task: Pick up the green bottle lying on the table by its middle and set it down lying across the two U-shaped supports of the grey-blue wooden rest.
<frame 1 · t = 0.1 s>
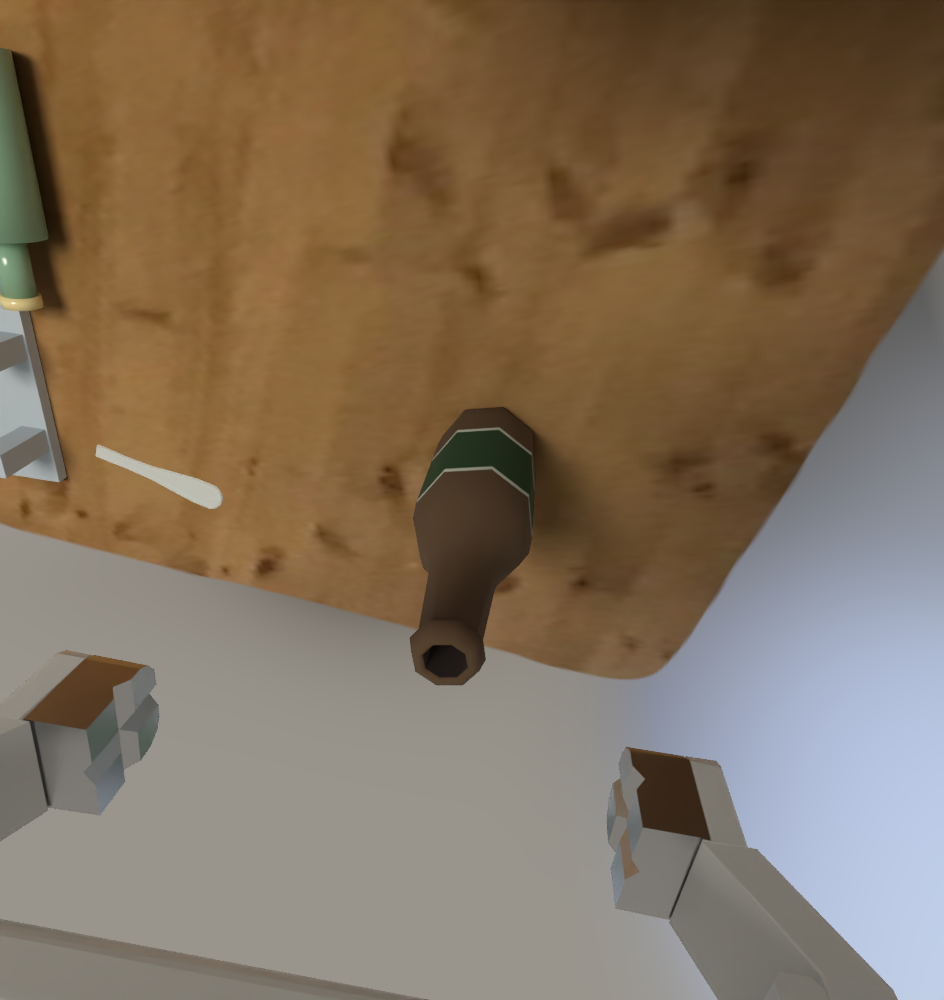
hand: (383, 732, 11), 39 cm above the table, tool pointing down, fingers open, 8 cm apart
beer bottle: (489, 447, 51), on the table
bottle: (13, 145, 44), on the table
butter knife: (92, 445, 56), on the table
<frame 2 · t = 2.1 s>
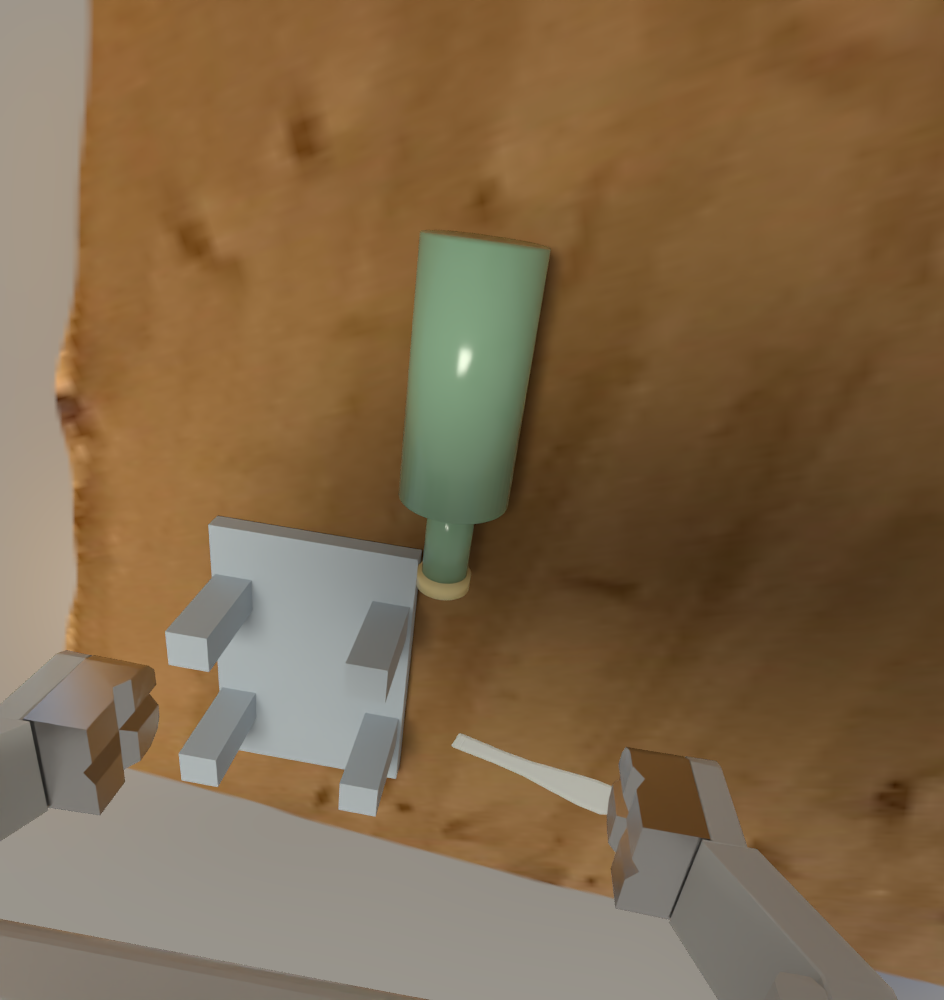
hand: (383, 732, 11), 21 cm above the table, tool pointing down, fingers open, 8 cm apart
rest: (316, 651, 37), on the table
bottle: (474, 365, 29), on the table
butter knife: (445, 730, 40), on the table
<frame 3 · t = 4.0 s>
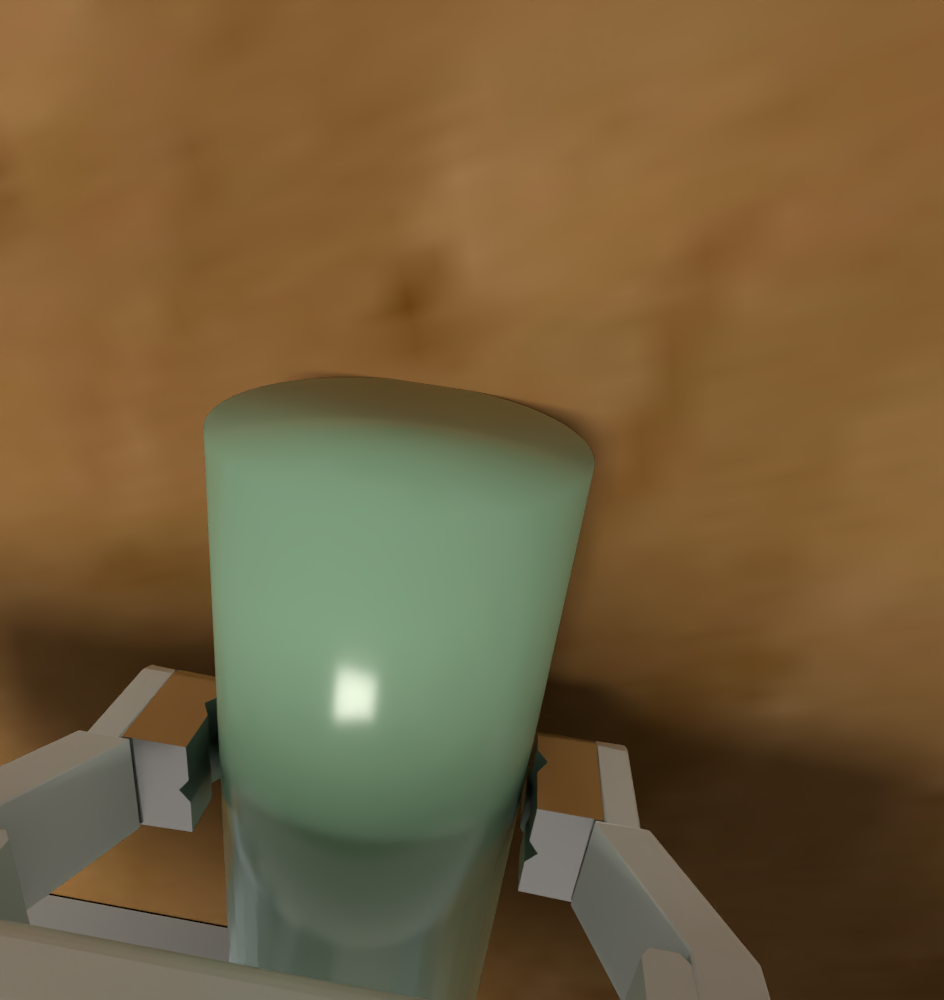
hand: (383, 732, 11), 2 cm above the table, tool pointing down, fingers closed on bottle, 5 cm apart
bottle: (406, 647, 13), on the table, touching gripper
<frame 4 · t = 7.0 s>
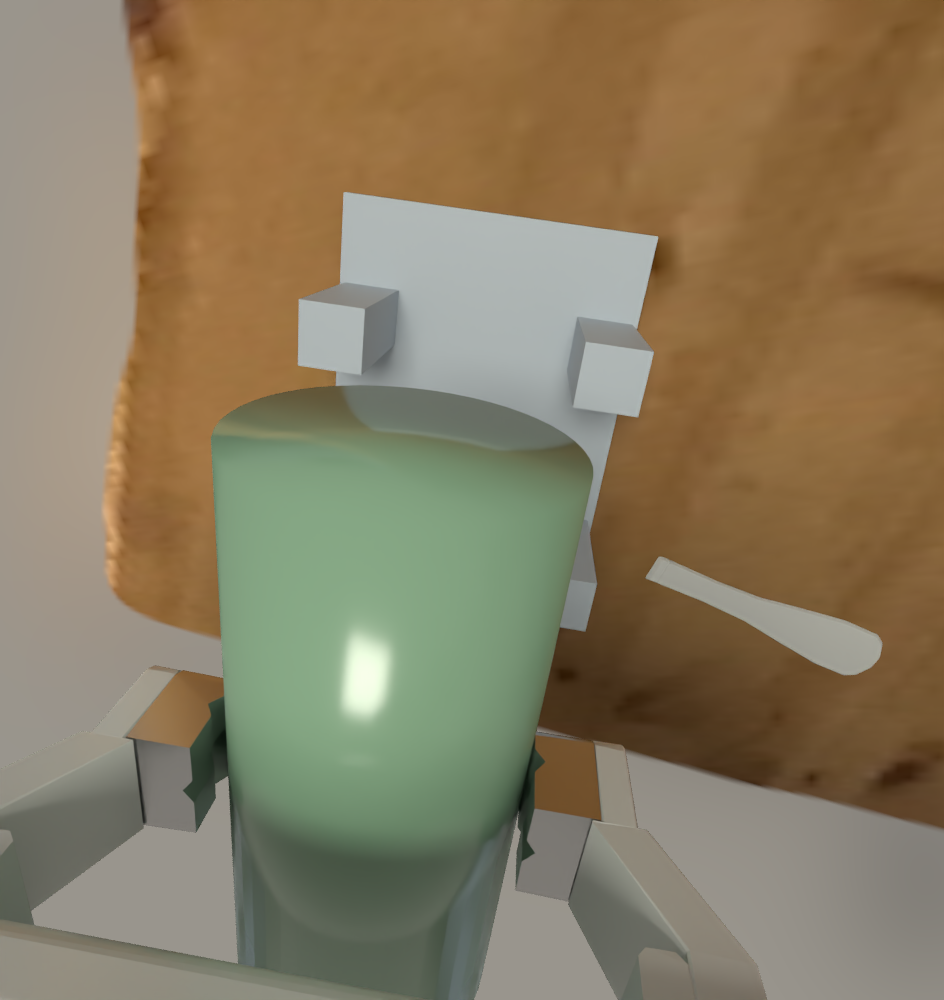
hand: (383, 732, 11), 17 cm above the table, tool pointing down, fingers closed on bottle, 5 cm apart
rest: (472, 424, 27), on the table
bottle: (408, 648, 13), point 15 cm above the table, touching gripper
butter knife: (636, 557, 29), on the table
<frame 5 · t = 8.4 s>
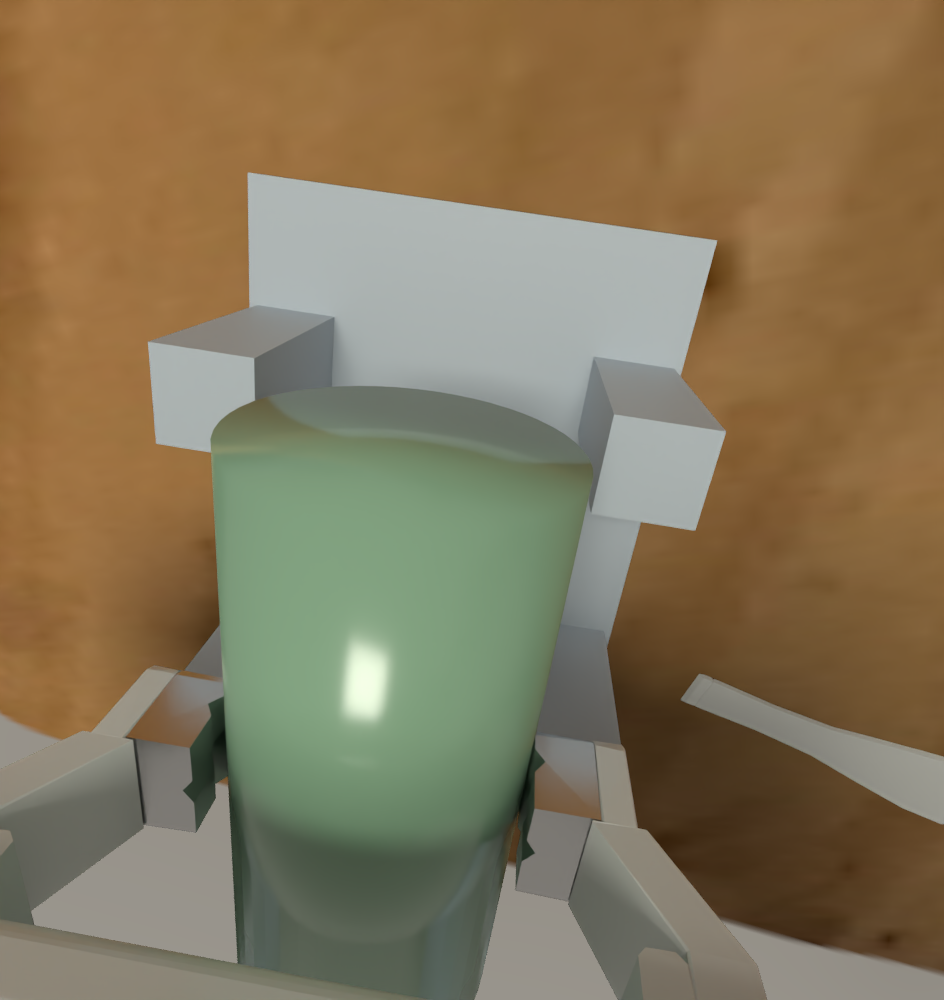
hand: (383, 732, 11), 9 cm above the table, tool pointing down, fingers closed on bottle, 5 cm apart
rest: (446, 499, 19), on the table
bottle: (408, 649, 13), point 7 cm above the table, touching gripper
butter knife: (667, 670, 22), on the table
when the fingers open (5 cm above the table, at t = 9.7 s): bottle drops 1 cm, resting on rest.
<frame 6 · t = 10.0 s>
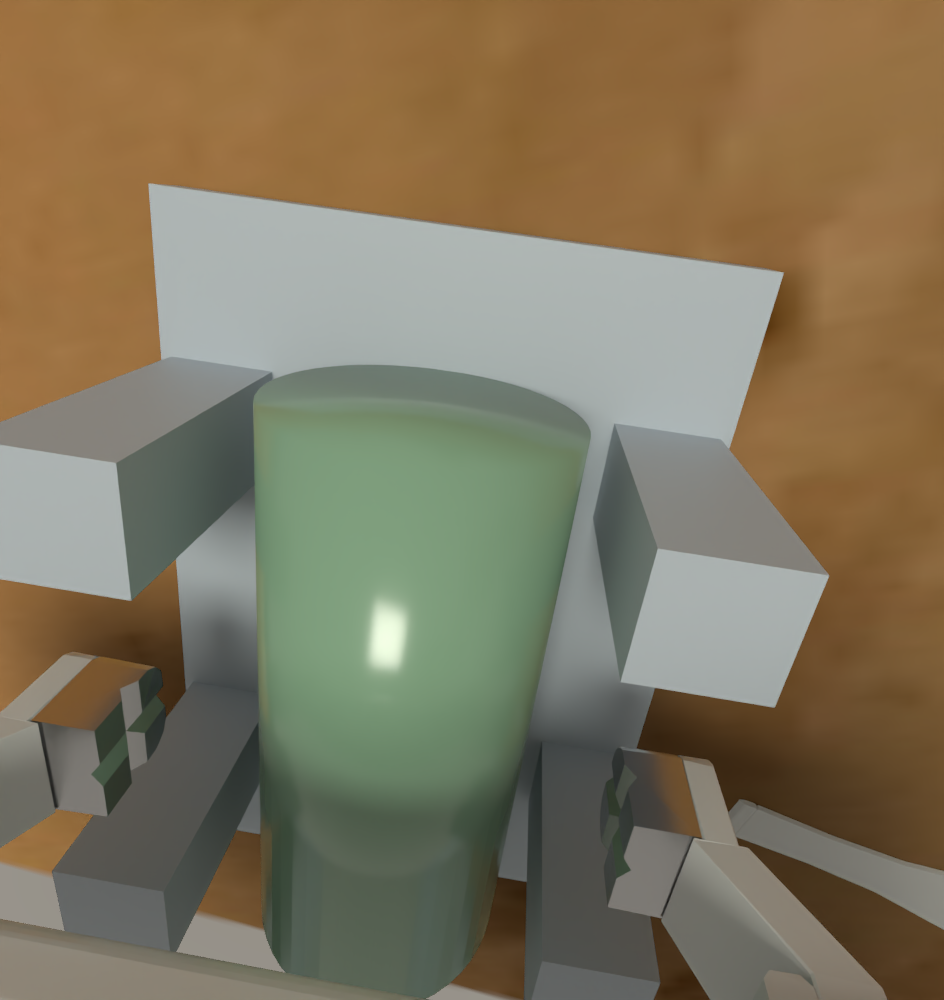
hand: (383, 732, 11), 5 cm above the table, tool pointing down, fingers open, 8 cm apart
rest: (425, 591, 15), on the table
bottle: (420, 614, 14), point 1 cm above the table, touching rest
butter knife: (698, 791, 18), on the table
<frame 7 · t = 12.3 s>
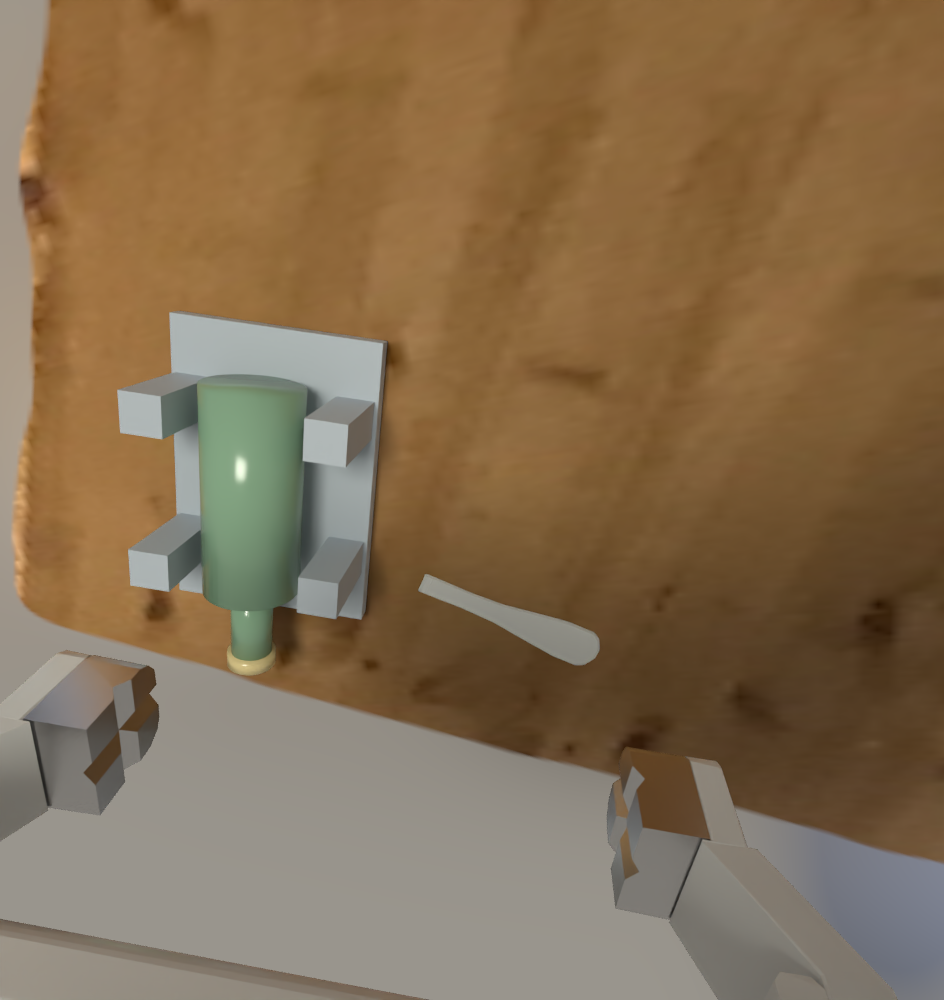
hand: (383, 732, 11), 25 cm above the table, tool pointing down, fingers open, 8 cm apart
rest: (279, 471, 36), on the table
bottle: (273, 477, 35), point 1 cm above the table, touching rest
butter knife: (412, 575, 38), on the table
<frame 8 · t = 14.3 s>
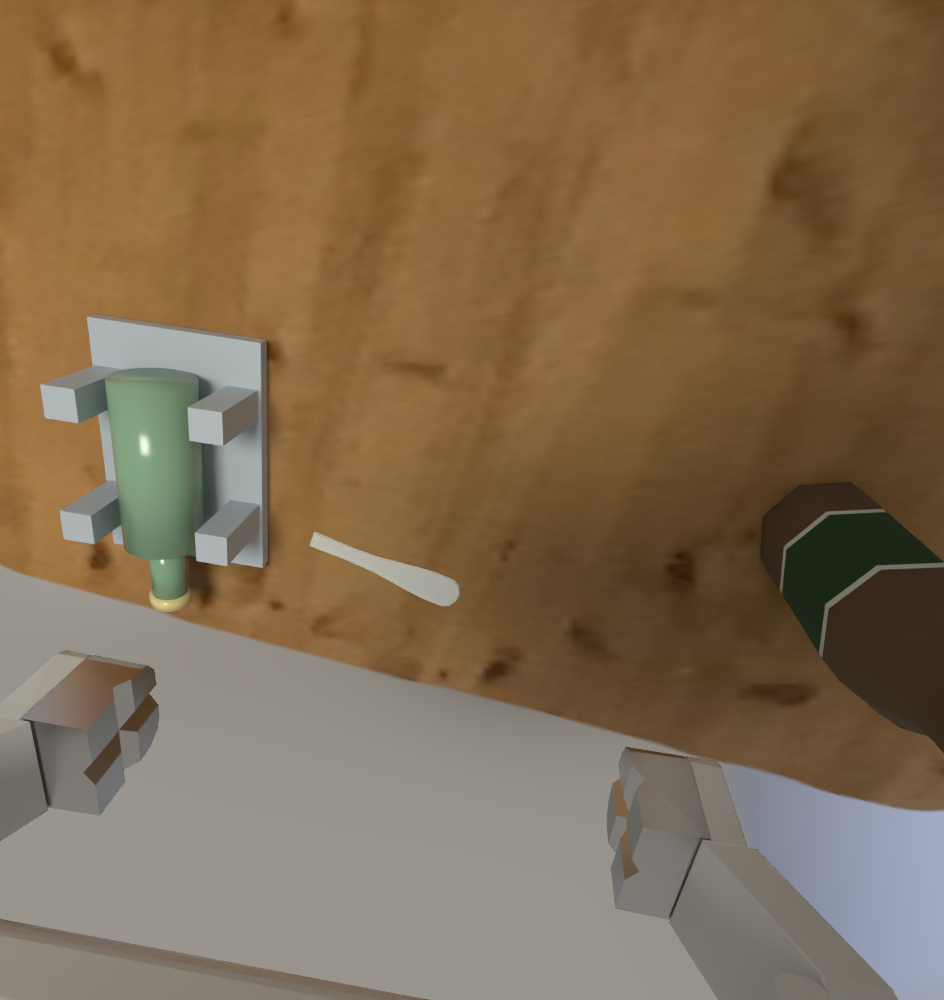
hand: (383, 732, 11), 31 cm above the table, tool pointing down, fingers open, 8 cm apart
beer bottle: (815, 530, 42), on the table
rest: (188, 446, 44), on the table
bottle: (182, 451, 43), point 1 cm above the table, touching rest
butter knife: (305, 533, 46), on the table
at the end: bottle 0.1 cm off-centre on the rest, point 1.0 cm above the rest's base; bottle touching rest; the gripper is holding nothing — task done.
